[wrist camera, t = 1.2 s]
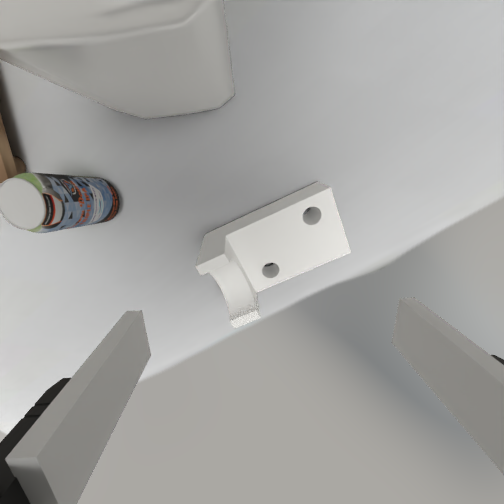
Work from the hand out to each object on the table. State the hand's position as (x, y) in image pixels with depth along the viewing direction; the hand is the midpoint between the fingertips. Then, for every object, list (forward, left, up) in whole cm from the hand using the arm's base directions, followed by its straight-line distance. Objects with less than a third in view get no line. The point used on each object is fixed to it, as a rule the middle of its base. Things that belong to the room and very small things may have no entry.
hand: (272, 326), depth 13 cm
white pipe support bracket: (+2, +3, -26) cm, 26 cm away
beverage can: (-4, -22, -26) cm, 34 cm away
